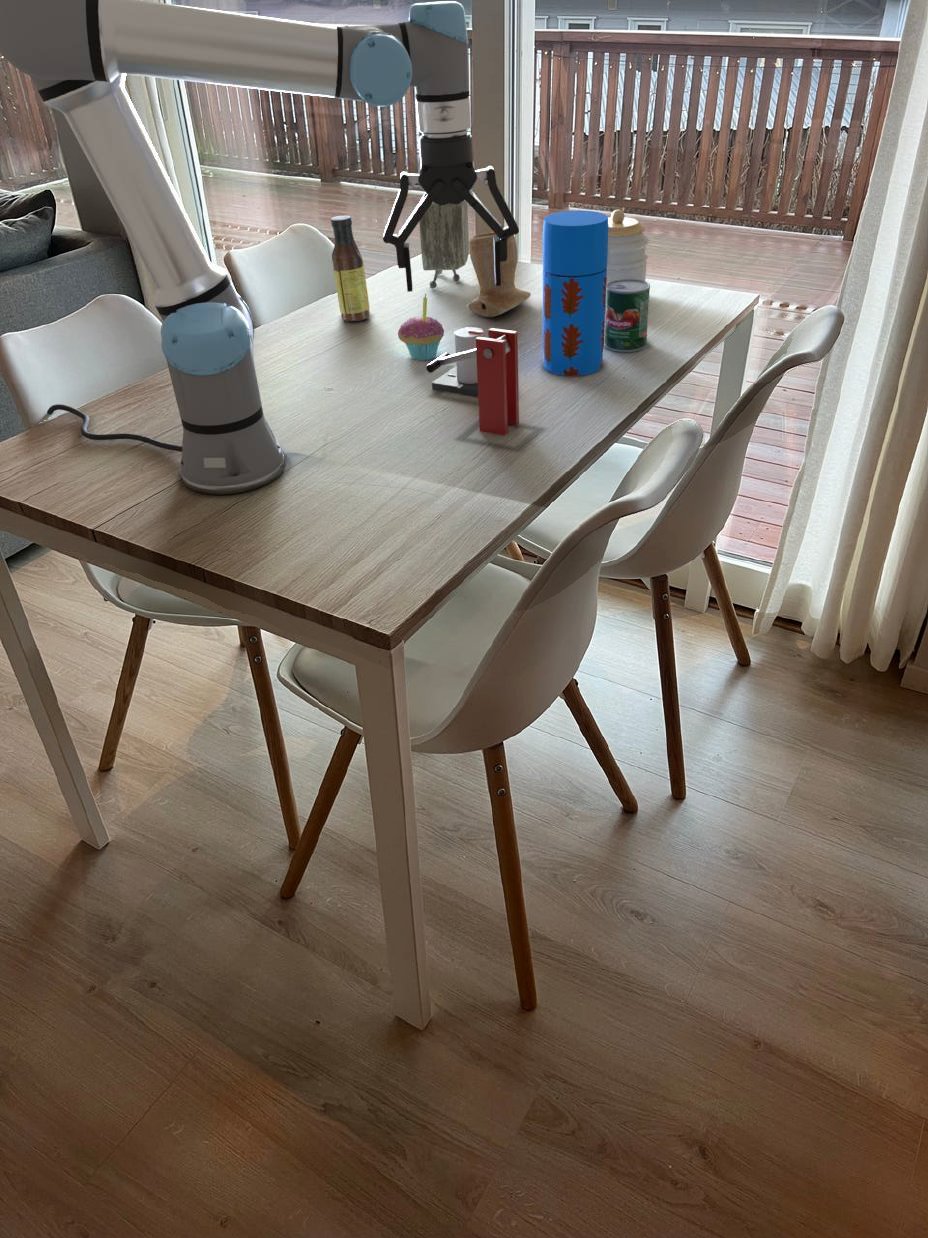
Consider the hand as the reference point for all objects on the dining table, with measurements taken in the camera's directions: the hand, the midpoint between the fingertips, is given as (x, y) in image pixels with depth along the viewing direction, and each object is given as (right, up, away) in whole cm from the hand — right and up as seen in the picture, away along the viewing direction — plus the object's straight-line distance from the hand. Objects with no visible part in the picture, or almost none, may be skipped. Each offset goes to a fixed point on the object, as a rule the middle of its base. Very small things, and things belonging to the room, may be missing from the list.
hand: (453, 286), depth 143 cm
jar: (+33, +16, +53) cm, 65 cm away
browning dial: (+3, -10, +15) cm, 18 cm away
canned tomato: (+32, 0, +31) cm, 44 cm away
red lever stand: (+7, -23, +2) cm, 24 cm away
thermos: (+21, -6, +24) cm, 33 cm away
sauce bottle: (-21, +12, +52) cm, 57 cm away
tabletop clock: (-2, +26, +69) cm, 74 cm away
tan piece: (+8, +14, +52) cm, 55 cm away
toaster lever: (+3, -12, -3) cm, 13 cm away
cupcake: (-6, -2, +32) cm, 32 cm away
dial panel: (+3, -13, +16) cm, 21 cm away
